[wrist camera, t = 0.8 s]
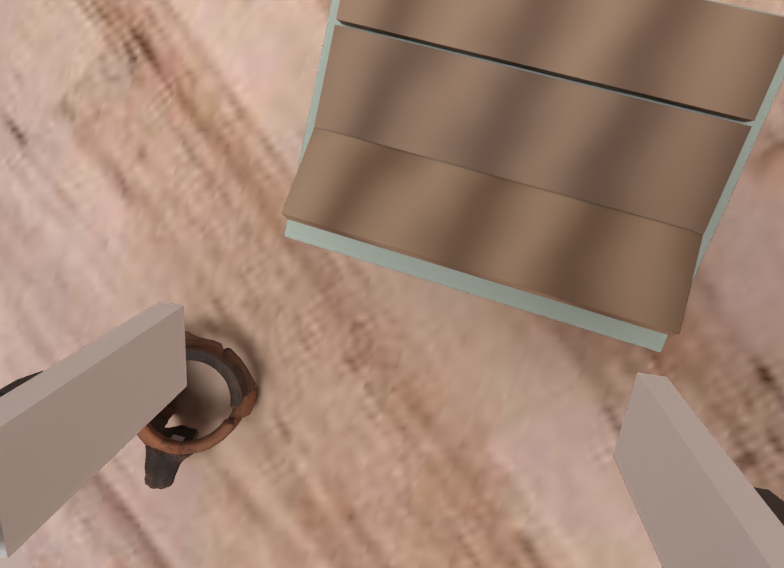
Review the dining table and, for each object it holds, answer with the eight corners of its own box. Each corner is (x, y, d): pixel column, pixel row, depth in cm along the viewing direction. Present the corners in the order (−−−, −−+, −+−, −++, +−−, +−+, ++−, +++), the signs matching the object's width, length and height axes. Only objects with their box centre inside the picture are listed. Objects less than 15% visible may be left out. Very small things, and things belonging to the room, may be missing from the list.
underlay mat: (804, 23, 27) (808, 21, 26) (658, 350, 32) (660, 352, 32) (349, -75, 30) (348, -78, 30) (286, 235, 36) (284, 236, 35)
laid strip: (786, 26, 27) (798, 20, 25) (743, 122, 28) (754, 120, 27) (360, -66, 30) (355, -75, 29) (342, 24, 31) (336, 18, 30)
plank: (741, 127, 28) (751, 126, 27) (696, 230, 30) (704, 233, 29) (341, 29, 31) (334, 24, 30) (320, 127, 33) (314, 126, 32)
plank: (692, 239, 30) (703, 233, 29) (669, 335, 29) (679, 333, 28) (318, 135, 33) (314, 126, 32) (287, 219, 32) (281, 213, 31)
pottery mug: (143, 314, 40) (121, 329, 33) (263, 330, 43) (269, 347, 35) (117, 461, 40) (89, 511, 33) (238, 468, 43) (239, 515, 35)
